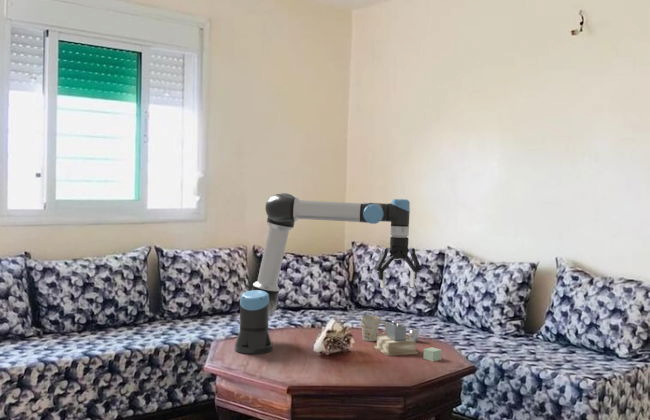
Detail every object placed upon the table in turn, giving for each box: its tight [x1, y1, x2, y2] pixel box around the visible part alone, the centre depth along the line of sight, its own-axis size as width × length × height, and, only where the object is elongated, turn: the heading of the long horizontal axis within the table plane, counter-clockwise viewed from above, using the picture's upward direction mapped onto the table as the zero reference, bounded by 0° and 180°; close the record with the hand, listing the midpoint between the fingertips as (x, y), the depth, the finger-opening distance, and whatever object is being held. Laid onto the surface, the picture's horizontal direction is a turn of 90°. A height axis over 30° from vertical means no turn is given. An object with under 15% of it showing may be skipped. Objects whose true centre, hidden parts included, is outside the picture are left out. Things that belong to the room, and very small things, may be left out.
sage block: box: [423, 347, 442, 362], centre depth 264 cm, size 5×5×4 cm
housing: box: [386, 320, 407, 341], centre depth 275 cm, size 5×8×7 cm, turn 19°
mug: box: [360, 315, 388, 342], centre depth 294 cm, size 8×13×10 cm, turn 107°
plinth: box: [373, 335, 419, 357], centre depth 275 cm, size 14×14×5 cm
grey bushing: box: [408, 328, 420, 343], centre depth 293 cm, size 4×4×5 cm
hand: (397, 287), depth 274 cm, fingers open, 13 cm apart
